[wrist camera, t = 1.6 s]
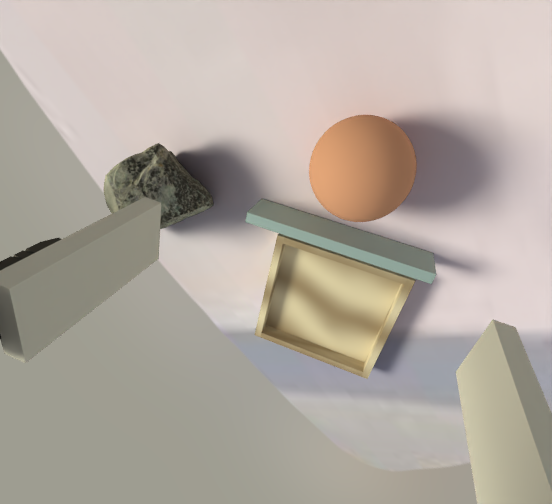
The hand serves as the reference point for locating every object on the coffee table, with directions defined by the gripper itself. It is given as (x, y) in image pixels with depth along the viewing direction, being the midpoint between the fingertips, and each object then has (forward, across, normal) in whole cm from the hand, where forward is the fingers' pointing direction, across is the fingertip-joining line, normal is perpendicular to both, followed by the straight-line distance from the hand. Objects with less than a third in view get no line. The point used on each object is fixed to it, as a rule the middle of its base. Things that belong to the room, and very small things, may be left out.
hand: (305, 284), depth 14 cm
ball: (+21, 0, 0) cm, 21 cm away
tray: (+21, +2, -15) cm, 26 cm away
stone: (+21, -18, -8) cm, 28 cm away
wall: (+21, 0, -7) cm, 22 cm away
